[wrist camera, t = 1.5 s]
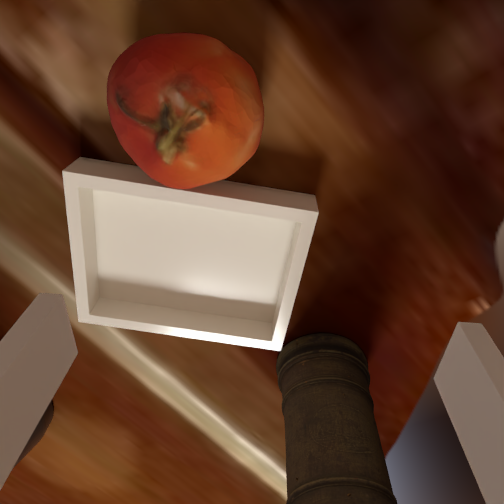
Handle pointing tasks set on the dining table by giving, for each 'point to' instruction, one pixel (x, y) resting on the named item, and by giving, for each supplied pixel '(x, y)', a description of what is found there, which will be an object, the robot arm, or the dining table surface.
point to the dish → (185, 254)
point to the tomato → (185, 108)
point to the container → (330, 424)
